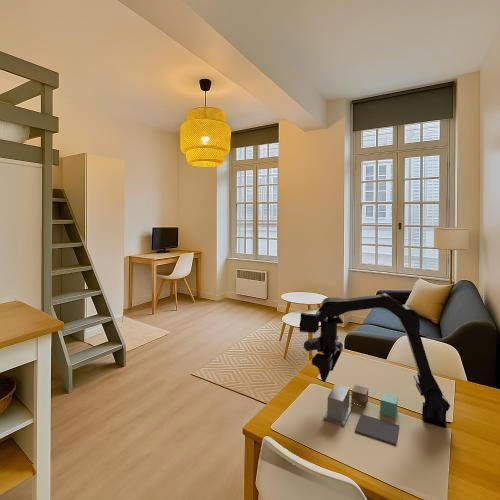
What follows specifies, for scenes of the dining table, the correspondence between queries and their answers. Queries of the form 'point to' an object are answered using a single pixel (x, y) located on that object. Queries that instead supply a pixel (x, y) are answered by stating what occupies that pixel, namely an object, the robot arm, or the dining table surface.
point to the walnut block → (359, 395)
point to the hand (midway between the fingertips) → (327, 375)
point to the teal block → (388, 405)
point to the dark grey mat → (377, 429)
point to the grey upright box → (338, 405)
